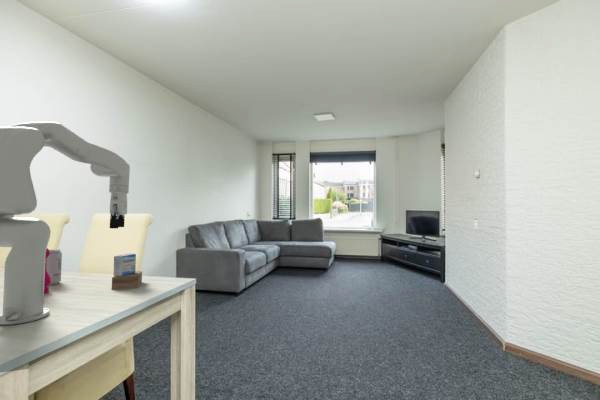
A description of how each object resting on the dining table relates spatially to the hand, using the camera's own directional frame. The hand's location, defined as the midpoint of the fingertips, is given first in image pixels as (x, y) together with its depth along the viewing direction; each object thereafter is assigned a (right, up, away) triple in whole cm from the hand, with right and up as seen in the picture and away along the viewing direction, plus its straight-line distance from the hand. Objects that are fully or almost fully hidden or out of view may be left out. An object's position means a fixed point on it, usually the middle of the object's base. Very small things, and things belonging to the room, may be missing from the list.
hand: (117, 227), depth 134 cm
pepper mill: (-23, -25, -14) cm, 37 cm away
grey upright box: (-29, -25, 0) cm, 39 cm away
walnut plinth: (+5, -26, -1) cm, 26 cm away
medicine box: (+4, -21, -1) cm, 21 cm away
